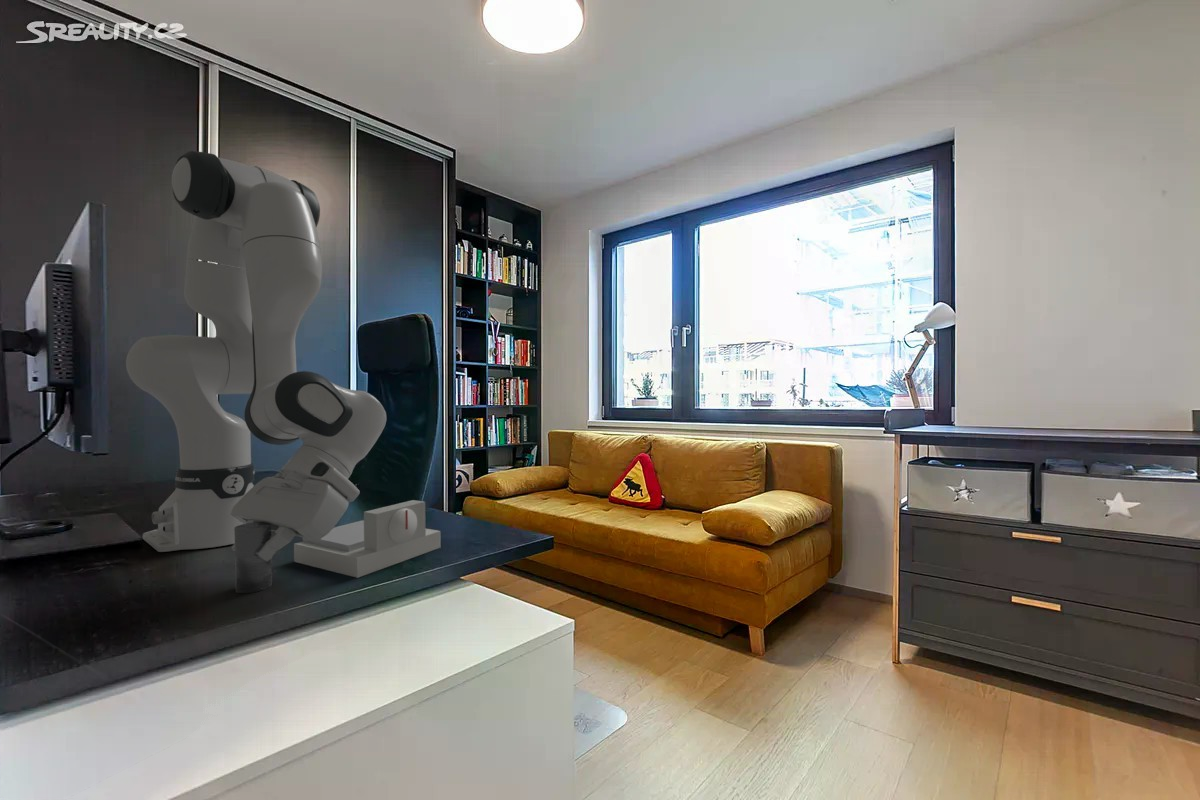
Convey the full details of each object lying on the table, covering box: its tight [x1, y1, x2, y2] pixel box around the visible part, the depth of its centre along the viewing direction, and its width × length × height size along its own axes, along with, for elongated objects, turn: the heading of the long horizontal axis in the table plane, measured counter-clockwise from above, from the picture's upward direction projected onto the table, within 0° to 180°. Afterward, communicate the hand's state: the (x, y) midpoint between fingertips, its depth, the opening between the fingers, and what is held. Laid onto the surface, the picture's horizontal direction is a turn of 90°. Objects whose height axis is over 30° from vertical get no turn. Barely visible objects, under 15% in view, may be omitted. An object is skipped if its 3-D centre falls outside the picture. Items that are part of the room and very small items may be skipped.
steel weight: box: [234, 522, 273, 594], centre depth 75 cm, size 4×4×9 cm
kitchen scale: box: [293, 499, 442, 578], centre depth 90 cm, size 16×17×9 cm
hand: (248, 555), depth 74 cm, fingers closed on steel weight, 4 cm apart
